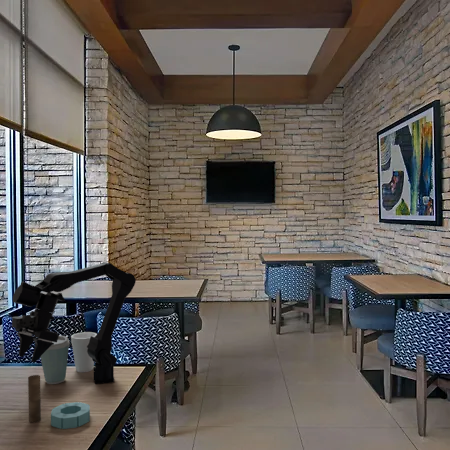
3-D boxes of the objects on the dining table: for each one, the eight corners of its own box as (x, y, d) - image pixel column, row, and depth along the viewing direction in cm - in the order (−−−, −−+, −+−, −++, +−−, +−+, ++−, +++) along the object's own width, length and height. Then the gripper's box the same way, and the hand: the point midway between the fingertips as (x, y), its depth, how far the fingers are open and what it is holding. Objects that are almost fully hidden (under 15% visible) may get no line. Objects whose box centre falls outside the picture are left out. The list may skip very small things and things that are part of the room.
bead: (89, 410, 141) (89, 400, 141) (89, 425, 131) (89, 415, 131) (53, 414, 139) (53, 404, 139) (49, 430, 129) (49, 419, 129)
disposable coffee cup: (64, 386, 160) (63, 343, 160) (33, 386, 161) (32, 343, 160) (74, 376, 171) (74, 335, 171) (45, 375, 171) (44, 335, 171)
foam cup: (66, 371, 175) (65, 337, 175) (81, 364, 184) (81, 331, 184) (87, 374, 172) (87, 339, 172) (102, 366, 181) (102, 333, 180)
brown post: (41, 416, 137) (40, 374, 137) (40, 421, 134) (39, 378, 134) (29, 418, 136) (28, 375, 136) (28, 423, 133) (27, 379, 133)
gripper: (9, 301, 153) (-10, 349, 149) (34, 307, 140) (14, 360, 136) (40, 310, 161) (23, 356, 156) (66, 316, 148) (49, 366, 143)
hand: (26, 359), depth 148 cm, fingers open, 9 cm apart
